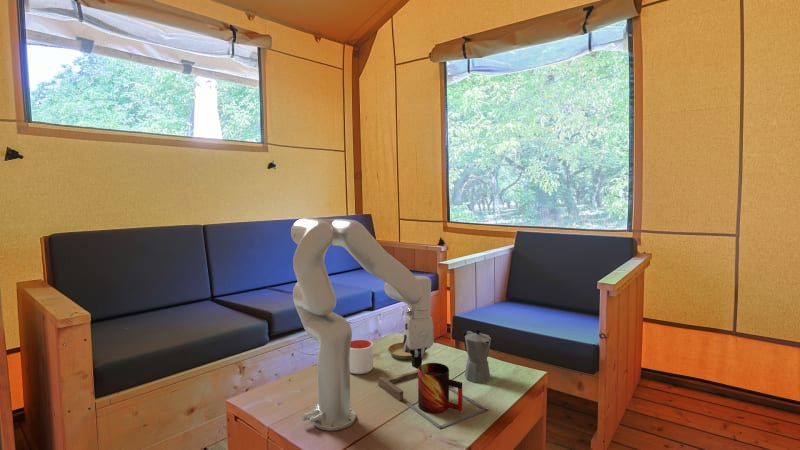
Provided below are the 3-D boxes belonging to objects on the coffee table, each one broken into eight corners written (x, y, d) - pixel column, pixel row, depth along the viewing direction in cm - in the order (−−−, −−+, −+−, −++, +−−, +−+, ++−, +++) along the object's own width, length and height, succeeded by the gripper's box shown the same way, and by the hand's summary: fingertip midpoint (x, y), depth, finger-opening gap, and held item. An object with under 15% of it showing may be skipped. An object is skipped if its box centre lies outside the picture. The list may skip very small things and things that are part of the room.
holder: (399, 401, 137) (399, 392, 137) (378, 385, 148) (378, 377, 148) (447, 385, 148) (447, 377, 148) (424, 371, 159) (424, 364, 159)
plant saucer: (430, 355, 175) (430, 349, 175) (402, 364, 167) (402, 358, 166) (408, 345, 187) (408, 339, 187) (380, 353, 178) (380, 347, 178)
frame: (439, 429, 121) (439, 428, 121) (405, 404, 135) (405, 403, 135) (487, 410, 131) (487, 409, 131) (451, 388, 146) (451, 387, 146)
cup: (378, 368, 163) (378, 342, 162) (362, 377, 155) (362, 351, 154) (357, 362, 169) (357, 337, 168) (341, 371, 160) (340, 345, 159)
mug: (462, 415, 128) (462, 377, 127) (416, 412, 130) (416, 374, 129) (462, 400, 138) (462, 364, 137) (419, 397, 140) (419, 362, 139)
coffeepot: (499, 382, 150) (500, 332, 149) (477, 387, 146) (478, 336, 145) (473, 366, 164) (473, 320, 163) (453, 371, 160) (453, 324, 159)
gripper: (406, 318, 135) (404, 375, 136) (443, 313, 144) (440, 367, 145) (393, 313, 142) (391, 367, 143) (429, 308, 150) (427, 359, 151)
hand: (416, 367), depth 144 cm, fingers closed
